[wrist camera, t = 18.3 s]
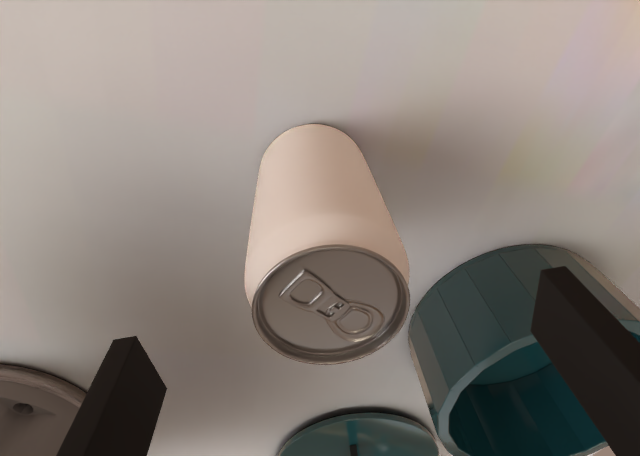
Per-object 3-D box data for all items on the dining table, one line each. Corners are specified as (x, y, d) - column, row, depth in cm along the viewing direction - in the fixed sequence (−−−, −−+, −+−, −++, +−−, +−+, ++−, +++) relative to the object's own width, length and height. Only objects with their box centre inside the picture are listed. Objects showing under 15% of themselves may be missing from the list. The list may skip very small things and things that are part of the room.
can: (318, 236, 27) (338, 393, 16) (237, 181, 24) (202, 326, 14) (387, 166, 24) (459, 298, 14) (305, 97, 22) (322, 196, 12)
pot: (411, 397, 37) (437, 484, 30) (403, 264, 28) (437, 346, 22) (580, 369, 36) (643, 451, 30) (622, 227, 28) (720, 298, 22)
